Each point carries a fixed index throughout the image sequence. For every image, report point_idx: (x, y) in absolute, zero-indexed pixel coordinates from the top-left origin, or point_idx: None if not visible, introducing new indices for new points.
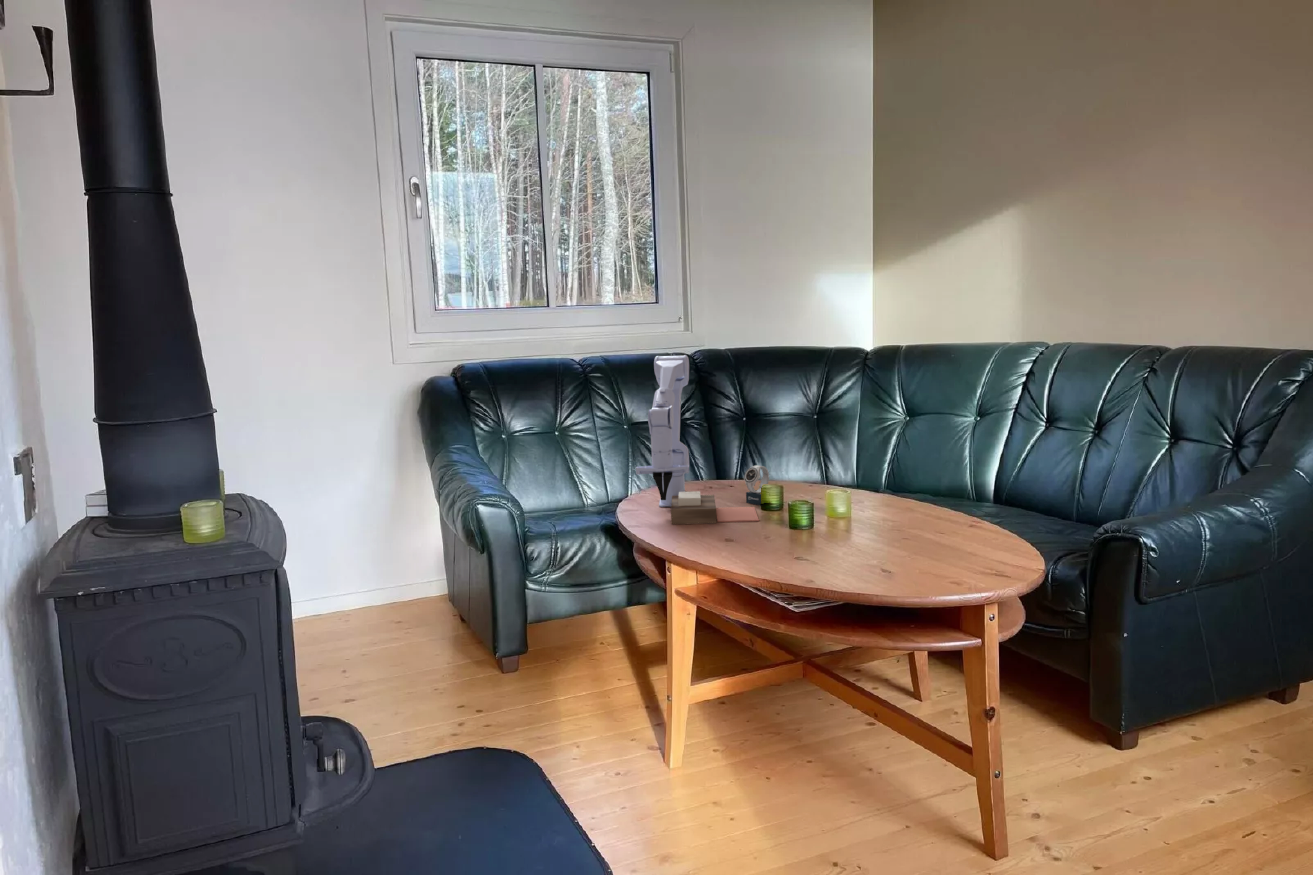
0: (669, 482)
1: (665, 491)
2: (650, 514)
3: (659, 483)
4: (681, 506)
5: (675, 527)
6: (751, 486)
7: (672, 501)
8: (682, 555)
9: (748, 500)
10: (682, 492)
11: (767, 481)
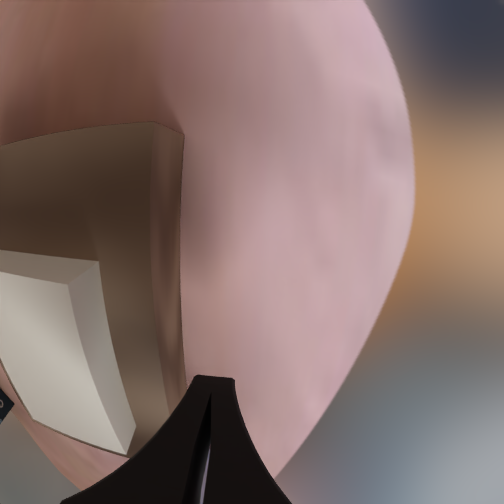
0: (106, 478)
1: (180, 420)
2: (290, 375)
3: (238, 495)
4: (78, 231)
5: (168, 65)
6: None
7: (159, 390)
8: None
9: (5, 402)
10: (100, 438)
11: None
